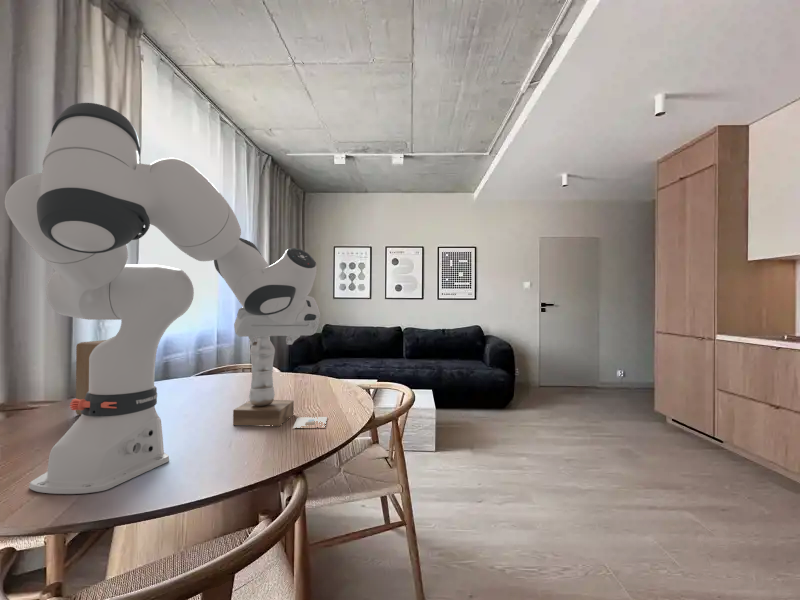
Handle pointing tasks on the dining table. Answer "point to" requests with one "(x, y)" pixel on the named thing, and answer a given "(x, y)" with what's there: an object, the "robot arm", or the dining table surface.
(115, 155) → the robot arm
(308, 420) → the page
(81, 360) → the block
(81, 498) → the dining table surface
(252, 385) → the plastic bottle
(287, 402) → the base block
